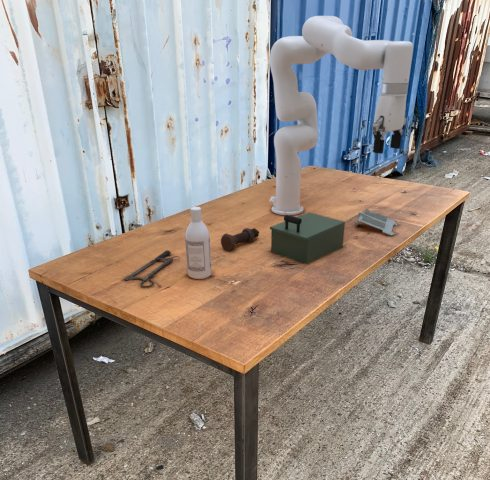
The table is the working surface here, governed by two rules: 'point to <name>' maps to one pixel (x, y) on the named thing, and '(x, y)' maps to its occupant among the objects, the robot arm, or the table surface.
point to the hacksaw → (154, 270)
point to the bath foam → (198, 246)
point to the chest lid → (306, 225)
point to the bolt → (238, 238)
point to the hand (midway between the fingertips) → (386, 150)
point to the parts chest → (307, 245)
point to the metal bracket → (376, 221)
